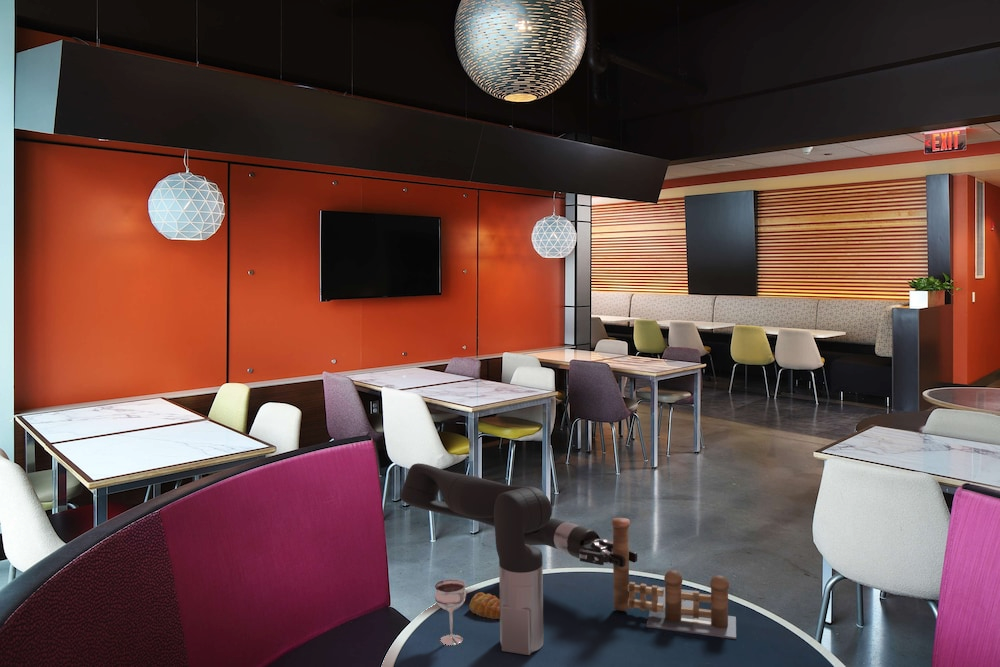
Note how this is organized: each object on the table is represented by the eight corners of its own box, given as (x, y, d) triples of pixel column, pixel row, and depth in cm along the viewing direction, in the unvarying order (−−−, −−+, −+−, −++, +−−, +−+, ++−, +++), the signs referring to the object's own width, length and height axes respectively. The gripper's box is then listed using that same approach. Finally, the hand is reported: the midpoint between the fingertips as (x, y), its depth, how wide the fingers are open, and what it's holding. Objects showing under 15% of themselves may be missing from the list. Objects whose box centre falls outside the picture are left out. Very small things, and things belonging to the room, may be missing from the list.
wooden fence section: (664, 610, 160) (664, 522, 159) (661, 618, 156) (661, 528, 155) (614, 602, 165) (614, 516, 164) (610, 609, 161) (610, 521, 160)
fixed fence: (728, 631, 152) (729, 580, 151) (663, 622, 156) (663, 573, 156) (728, 623, 156) (729, 573, 155) (665, 615, 160) (665, 566, 159)
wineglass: (447, 651, 145) (446, 595, 144) (429, 639, 150) (428, 585, 150) (473, 640, 149) (472, 586, 149) (455, 629, 155) (454, 576, 154)
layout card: (736, 639, 148) (736, 636, 148) (646, 626, 154) (646, 624, 154) (735, 597, 169) (735, 595, 169) (656, 587, 175) (656, 585, 175)
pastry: (514, 613, 162) (514, 597, 162) (496, 624, 157) (496, 608, 157) (484, 602, 168) (483, 587, 168) (465, 613, 163) (465, 597, 163)
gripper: (595, 548, 177) (649, 568, 164) (556, 562, 168) (609, 584, 155) (595, 519, 177) (649, 537, 164) (555, 532, 168) (609, 551, 155)
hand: (630, 560), depth 159 cm, fingers closed on wooden fence section, 3 cm apart
